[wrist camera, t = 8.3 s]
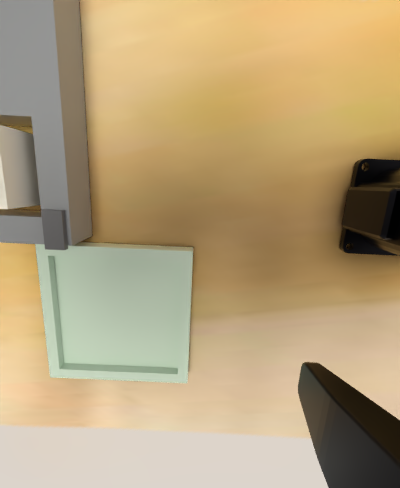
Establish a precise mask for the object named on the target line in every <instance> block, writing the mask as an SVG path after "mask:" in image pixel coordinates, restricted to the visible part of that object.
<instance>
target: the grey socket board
mask: <svg viewBox="0 0 400 488" xmlns="http://www.w3.org/2000/svg"><path fill="white" fill-rule="evenodd" d="M0 125H7V126H27V127H32V128H33V138H34V147H35V157H36V167H37V176H38V186H39V196H40V205H41V211H40V210H19V209H0V242H3V243H24V244H44V245H45V249H47V250H66V249H68V246H72V245H75V244H77V243H79V242H81V241H83V240H85V239H87V238H89V237H91V236H92V219H91V201H90V183H89V165H88V148H87V130H86V112H85V94H84V76H83V59H82V41H81V23H80V5H79V0H0Z"/></svg>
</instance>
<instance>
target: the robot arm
mask: <svg viewBox="0 0 400 488" xmlns="http://www.w3.org/2000/svg"><path fill="white" fill-rule="evenodd" d="M362 164H365V169H364V170H362ZM342 225H343V231H342V236H341V242H340V249H341V250H342V251H344V252H346V253H355V254H376V255H398V256H400V160H382V159H362V160H359V161H357V163H356V164H355V166H354V171H353V177H352V182H351V188H350V189H349V190H348V194H347V200H346V205H345V210H344V216H343V221H342ZM348 243H350V247H349V248H346V246H347V244H348ZM298 394H299V398H300V401H301V405H302V408H303V411H304V415H305V418H306V422H307V425H308V428H309V432H310V435H311V439H312V442H313V445H314V448H315V451H316V455H317V458H318V461H319V464H320V466H321V469H322V472H323V474H324V477H325V479H326V482H327V484H328V487H329V488H400V420H398V419H397V418H396V417H394V416H393V415H391V414H390V413H389V412H387V411H386V410H384V409H383V408H381V407H380V406H379V405H377V404H376V403H374V402H373V401H372V400H370V399H369V398H367V397H366V396H364V395H363V394H362V393H360V392H359V391H357V390H356V389H355V388H353V387H352V386H350V385H349V384H348V383H346V382H345V381H343V380H342V379H340V378H339V377H338V376H336V375H335V374H333V373H332V372H331V371H329V370H328V369H326V368H325V367H323V366H322V365H321V364H319V363H314V362H304V363H303V364H302V366H301V372H300V378H299V384H298Z"/></svg>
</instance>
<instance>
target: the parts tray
mask: <svg viewBox="0 0 400 488" xmlns="http://www.w3.org/2000/svg"><path fill="white" fill-rule="evenodd" d="M35 247H36V255H37V264H38V273H39V282H40V291H41V300H42V309H43V318H44V327H45V335H46V344H47V353H48V362H49V371H50V377H55V378H78V379H101V380H124V381H147V382H170V383H187V381H188V363H189V340H190V316H191V292H192V268H193V247H178V246H157V245H136V244H114V243H93V242H79V243H77V244H75V245H72V246H68V249H66V250H47V249H45V245H44V244H35Z"/></svg>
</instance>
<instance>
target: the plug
mask: <svg viewBox="0 0 400 488" xmlns="http://www.w3.org/2000/svg"><path fill="white" fill-rule="evenodd" d="M36 205H40V196H39V186H38V176H37V167H36V157H35V147H34V138H33V134H30V133H26V132H23V131H20V130H16V129H13V128H9V127H6V126H3V125H0V209H13V208H21V207H29V206H36Z"/></svg>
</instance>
